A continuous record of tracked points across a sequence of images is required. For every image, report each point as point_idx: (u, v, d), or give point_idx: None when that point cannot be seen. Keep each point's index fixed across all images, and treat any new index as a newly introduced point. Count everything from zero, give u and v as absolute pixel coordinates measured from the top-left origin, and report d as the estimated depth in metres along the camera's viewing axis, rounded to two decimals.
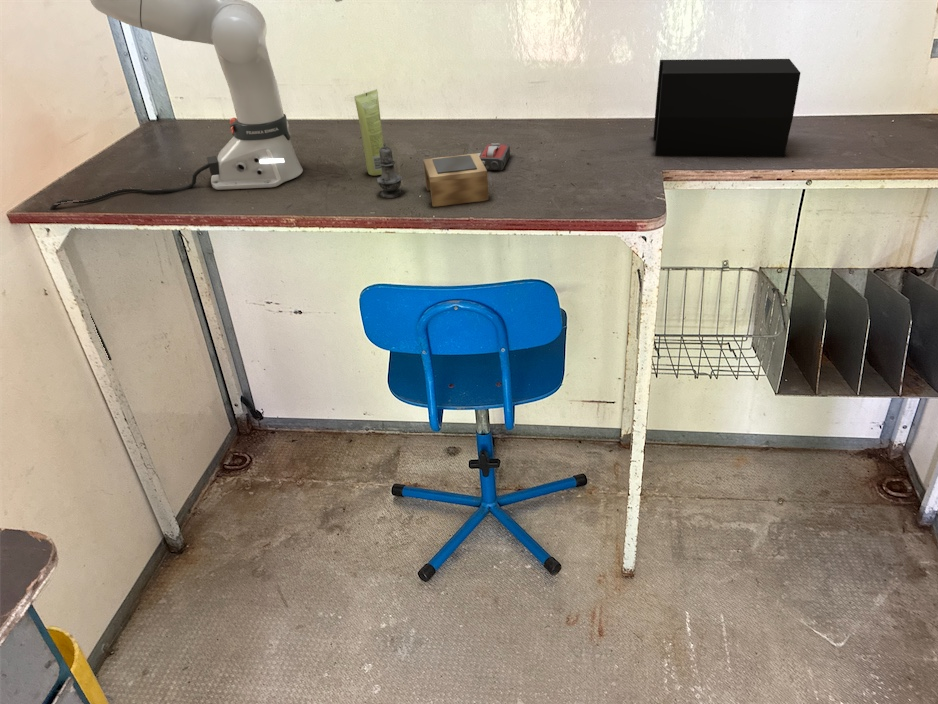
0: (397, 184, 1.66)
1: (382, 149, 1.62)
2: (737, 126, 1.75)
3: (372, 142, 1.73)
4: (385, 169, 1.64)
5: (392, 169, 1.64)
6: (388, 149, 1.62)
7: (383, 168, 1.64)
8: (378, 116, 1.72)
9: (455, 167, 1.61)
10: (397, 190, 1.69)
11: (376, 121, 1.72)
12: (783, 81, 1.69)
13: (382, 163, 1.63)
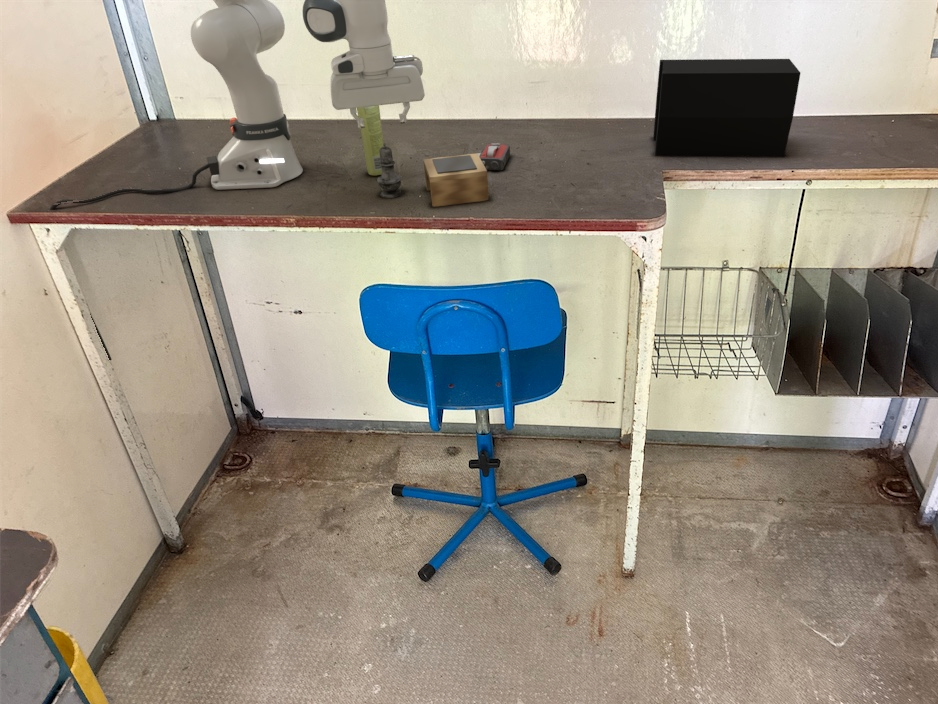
0: (397, 184, 1.66)
1: (382, 149, 1.62)
2: (737, 126, 1.75)
3: (372, 142, 1.73)
4: (385, 169, 1.64)
5: (392, 169, 1.64)
6: (388, 149, 1.62)
7: (383, 168, 1.64)
8: (378, 116, 1.72)
9: (455, 167, 1.61)
10: (397, 190, 1.69)
11: (376, 121, 1.72)
12: (783, 81, 1.69)
13: (382, 163, 1.63)
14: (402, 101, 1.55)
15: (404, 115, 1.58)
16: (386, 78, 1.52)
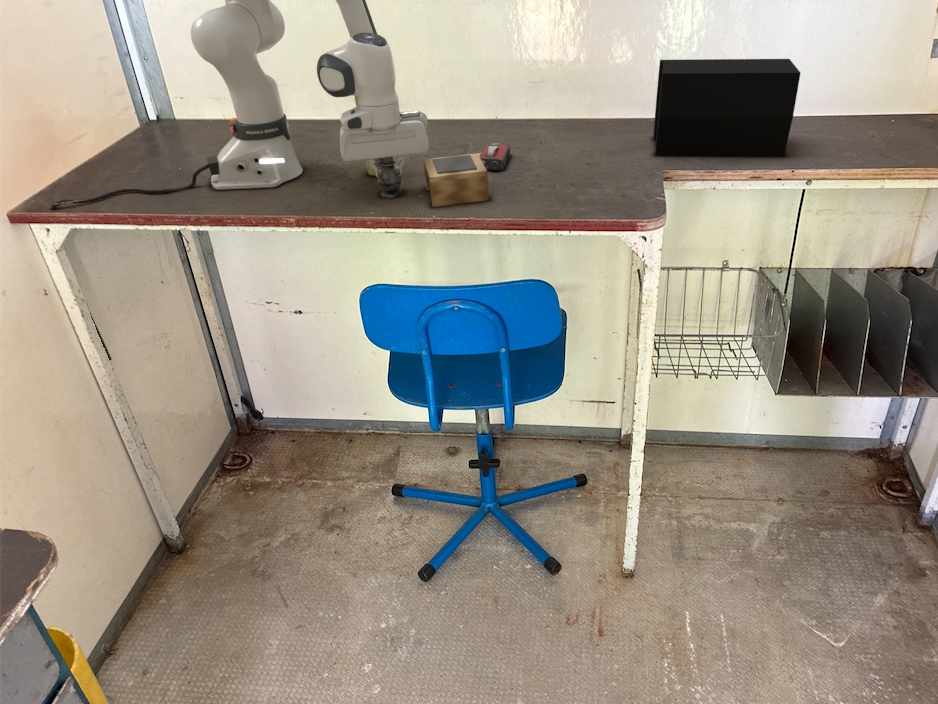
0: (397, 184, 1.66)
1: None
2: (737, 126, 1.75)
3: None
4: (385, 169, 1.64)
5: (392, 169, 1.64)
6: None
7: (383, 168, 1.64)
8: None
9: (455, 167, 1.61)
10: (397, 190, 1.69)
11: None
12: (783, 81, 1.69)
13: (382, 163, 1.63)
14: (408, 153, 1.62)
15: (399, 167, 1.65)
16: (393, 132, 1.59)
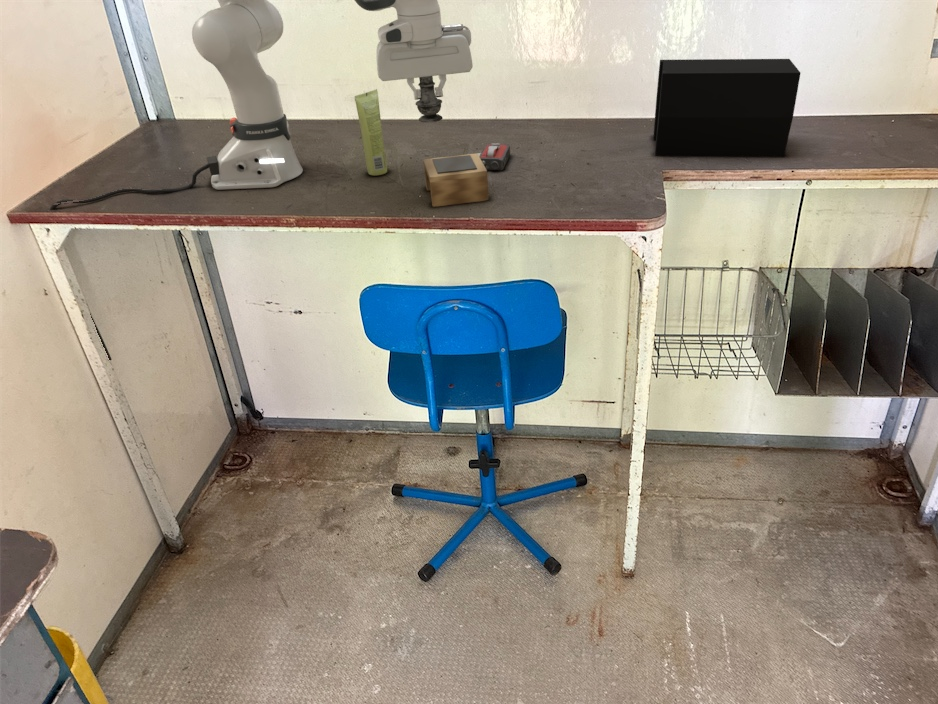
0: (437, 107, 1.54)
1: None
2: (737, 126, 1.75)
3: (372, 142, 1.73)
4: (425, 91, 1.52)
5: (432, 90, 1.53)
6: None
7: (423, 89, 1.52)
8: (378, 116, 1.72)
9: (455, 167, 1.61)
10: (436, 115, 1.57)
11: (376, 121, 1.72)
12: (783, 81, 1.69)
13: (422, 83, 1.51)
14: (450, 72, 1.51)
15: (440, 88, 1.53)
16: (434, 47, 1.47)
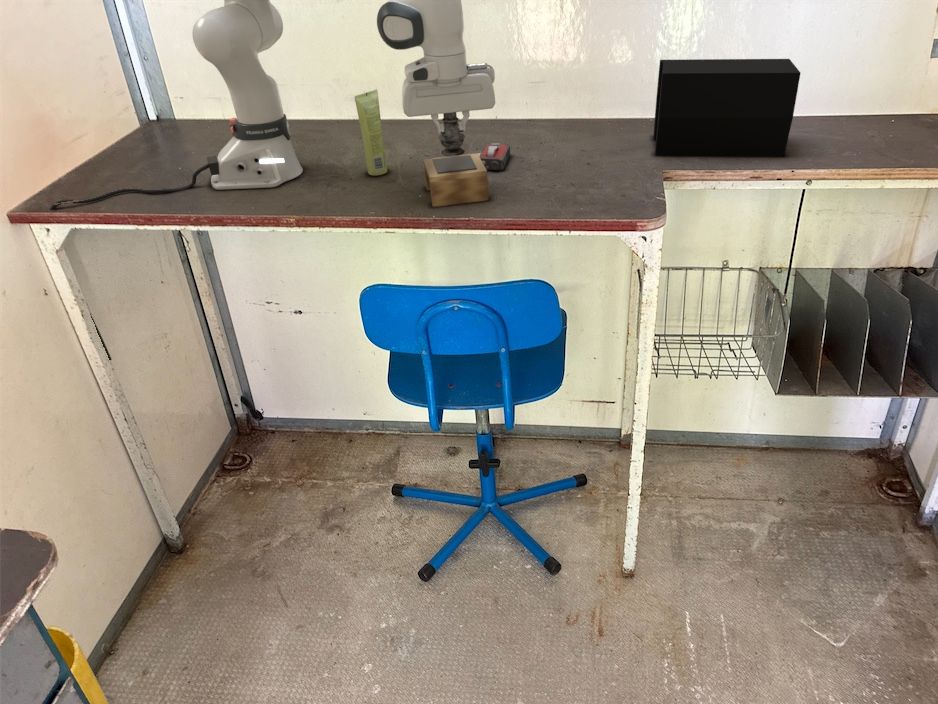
0: (460, 142, 1.58)
1: None
2: (737, 126, 1.75)
3: (372, 142, 1.73)
4: (448, 126, 1.56)
5: (455, 126, 1.57)
6: None
7: (446, 124, 1.56)
8: (378, 116, 1.72)
9: (455, 167, 1.61)
10: (458, 149, 1.61)
11: (376, 121, 1.72)
12: (783, 81, 1.69)
13: (445, 119, 1.56)
14: (473, 109, 1.55)
15: (463, 124, 1.57)
16: (459, 85, 1.51)
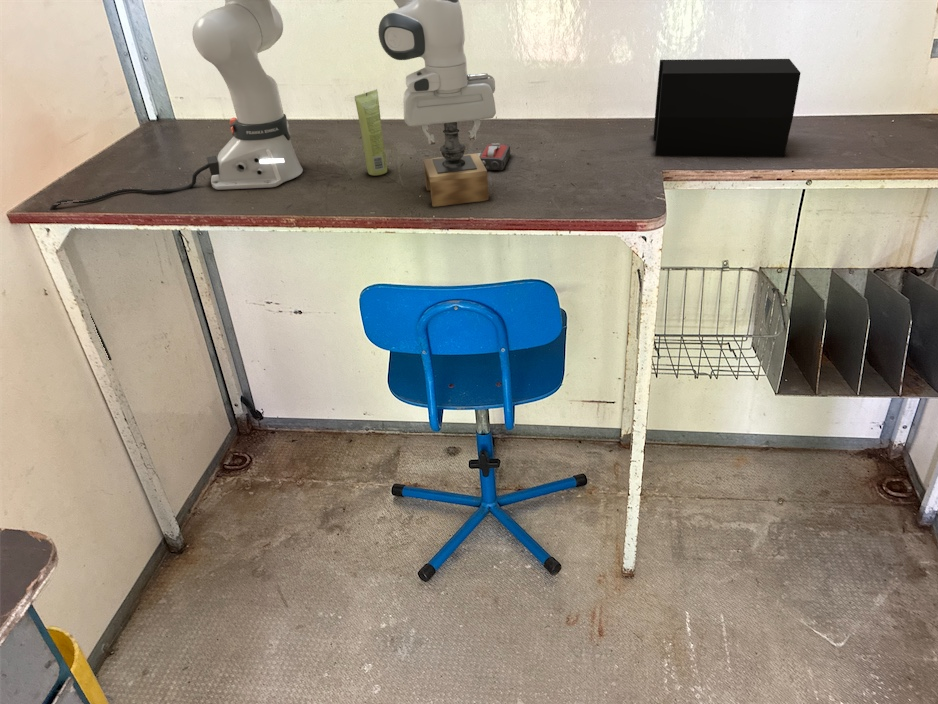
0: (461, 153, 1.60)
1: None
2: (737, 126, 1.75)
3: (372, 142, 1.73)
4: (449, 138, 1.58)
5: (456, 137, 1.58)
6: None
7: (447, 136, 1.58)
8: (378, 116, 1.72)
9: (455, 167, 1.61)
10: (459, 160, 1.63)
11: (376, 121, 1.72)
12: (783, 81, 1.69)
13: (446, 131, 1.57)
14: (474, 118, 1.56)
15: (474, 132, 1.59)
16: (460, 95, 1.53)
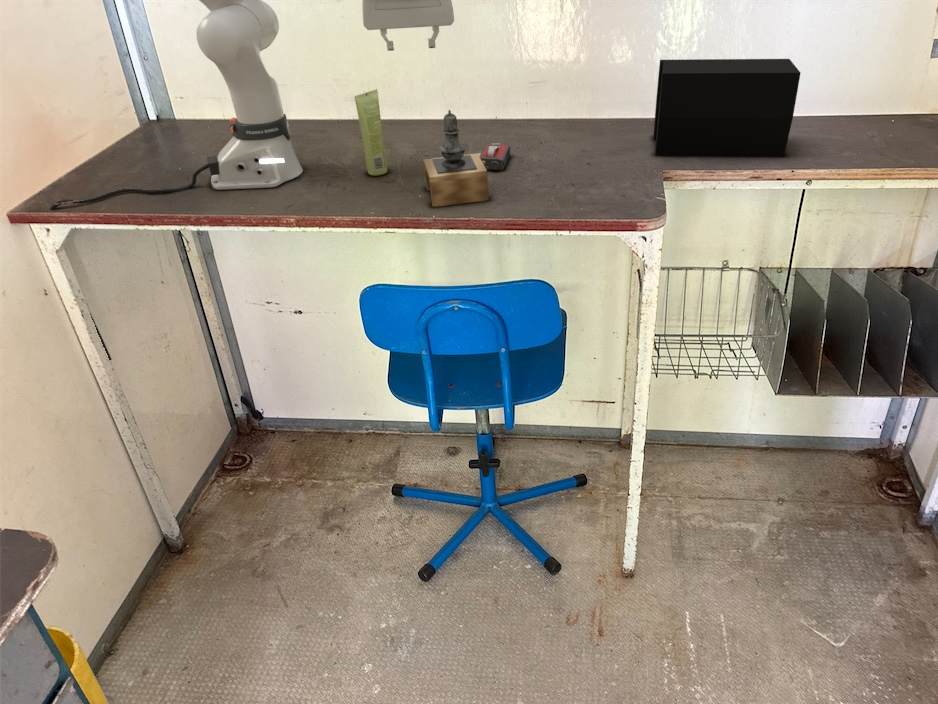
0: (461, 153, 1.60)
1: (447, 116, 1.56)
2: (737, 126, 1.75)
3: (372, 142, 1.73)
4: (449, 138, 1.58)
5: (456, 137, 1.58)
6: (453, 116, 1.56)
7: (447, 136, 1.58)
8: (378, 116, 1.72)
9: (455, 167, 1.61)
10: (459, 160, 1.63)
11: (376, 121, 1.72)
12: (783, 81, 1.69)
13: (446, 131, 1.57)
14: (432, 25, 1.58)
15: (433, 39, 1.61)
16: None
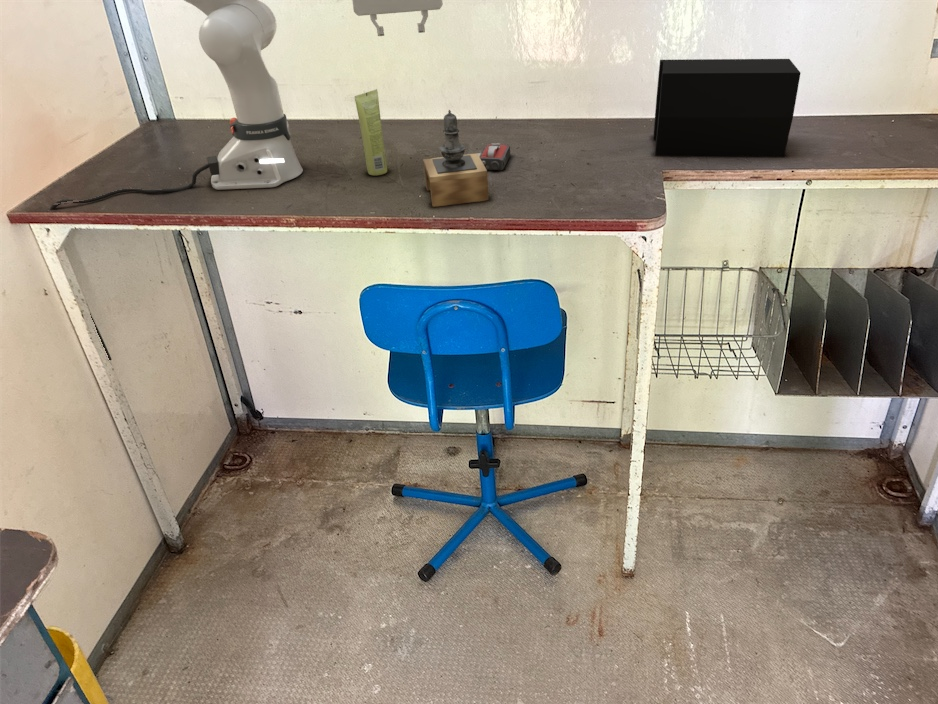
0: (461, 153, 1.60)
1: (447, 116, 1.56)
2: (737, 126, 1.75)
3: (372, 142, 1.73)
4: (449, 138, 1.58)
5: (456, 137, 1.58)
6: (453, 116, 1.56)
7: (447, 136, 1.58)
8: (378, 116, 1.72)
9: (455, 167, 1.61)
10: (459, 160, 1.63)
11: (376, 121, 1.72)
12: (783, 81, 1.69)
13: (446, 131, 1.57)
14: (421, 9, 1.61)
15: (422, 24, 1.64)
16: None
